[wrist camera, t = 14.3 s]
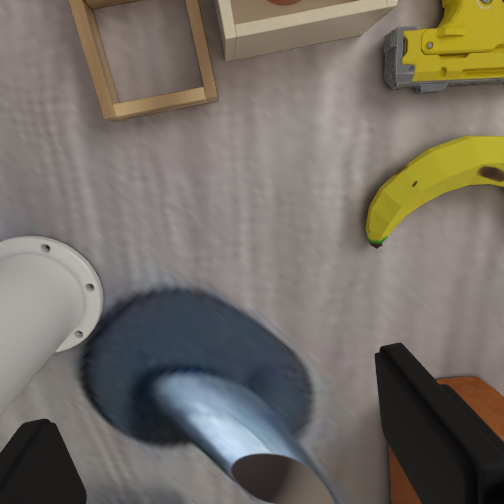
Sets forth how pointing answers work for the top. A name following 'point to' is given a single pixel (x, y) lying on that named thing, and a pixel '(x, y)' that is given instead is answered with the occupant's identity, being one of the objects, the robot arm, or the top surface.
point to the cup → (284, 2)
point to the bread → (481, 401)
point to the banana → (434, 180)
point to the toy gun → (449, 49)
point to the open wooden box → (292, 23)
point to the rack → (112, 110)
